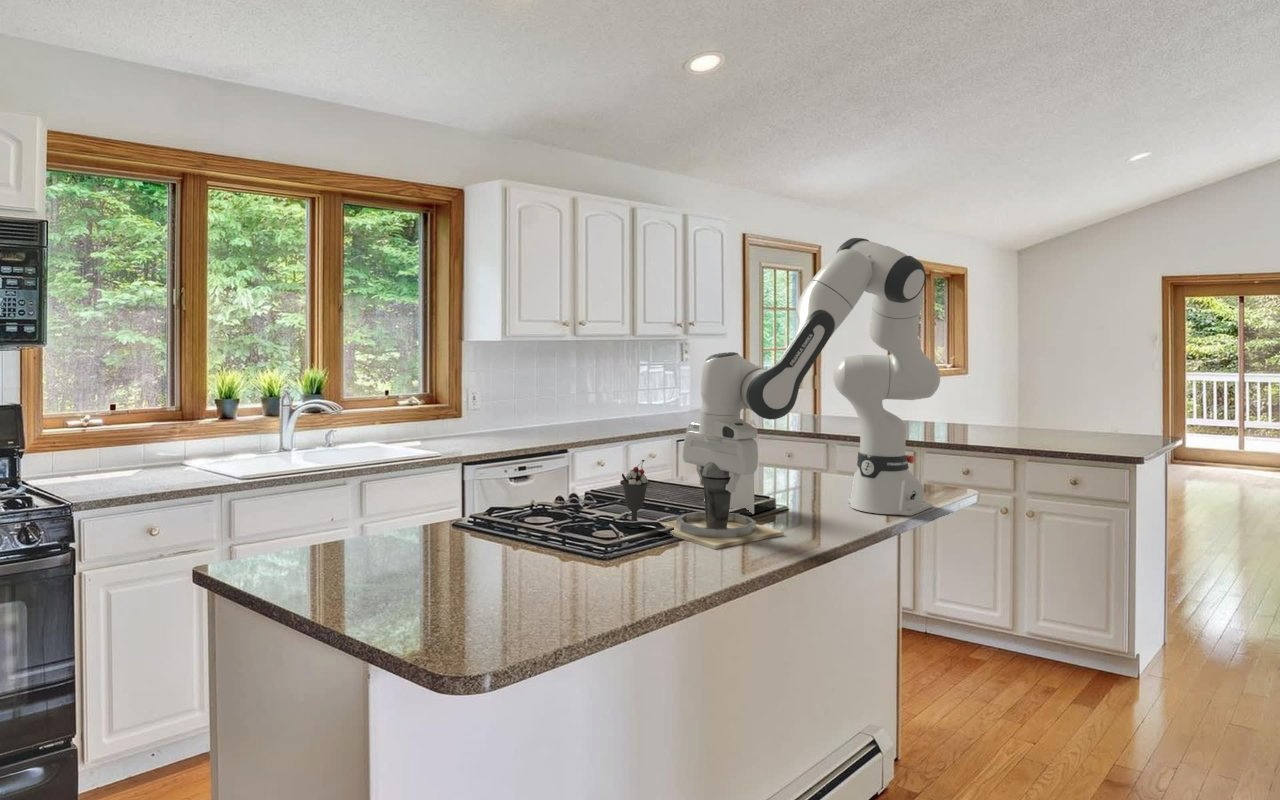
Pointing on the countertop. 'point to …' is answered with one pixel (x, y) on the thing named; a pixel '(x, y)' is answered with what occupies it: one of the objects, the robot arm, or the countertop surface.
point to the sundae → (634, 490)
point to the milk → (743, 493)
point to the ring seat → (720, 530)
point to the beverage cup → (716, 496)
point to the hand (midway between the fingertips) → (717, 488)
